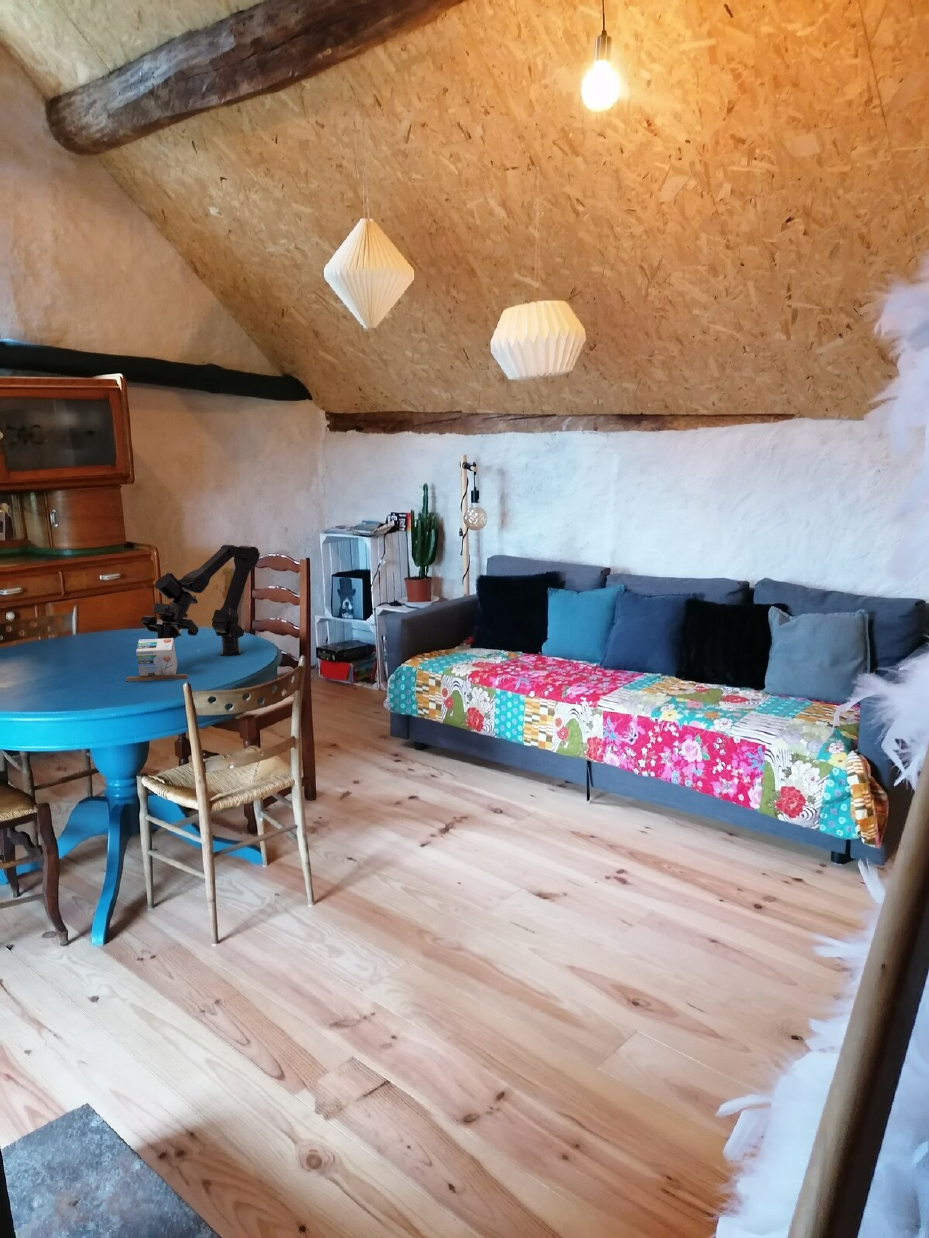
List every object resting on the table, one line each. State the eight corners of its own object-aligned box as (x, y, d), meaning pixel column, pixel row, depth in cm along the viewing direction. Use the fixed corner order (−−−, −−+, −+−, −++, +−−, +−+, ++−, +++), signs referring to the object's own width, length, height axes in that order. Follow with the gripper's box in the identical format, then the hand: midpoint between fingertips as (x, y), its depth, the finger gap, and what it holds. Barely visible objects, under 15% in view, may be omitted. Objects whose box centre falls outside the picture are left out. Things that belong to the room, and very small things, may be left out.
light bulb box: (140, 679, 259) (135, 651, 254) (143, 666, 265) (138, 639, 259) (175, 677, 261) (171, 649, 256) (178, 664, 267) (173, 637, 261)
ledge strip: (127, 680, 258) (127, 676, 258) (187, 677, 262) (187, 673, 261) (126, 681, 257) (126, 678, 256) (186, 678, 260) (186, 675, 260)
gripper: (142, 591, 267) (120, 631, 259) (190, 594, 261) (170, 635, 253) (160, 611, 276) (139, 650, 268) (207, 614, 270) (188, 655, 262)
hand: (158, 647), depth 262 cm, fingers closed
